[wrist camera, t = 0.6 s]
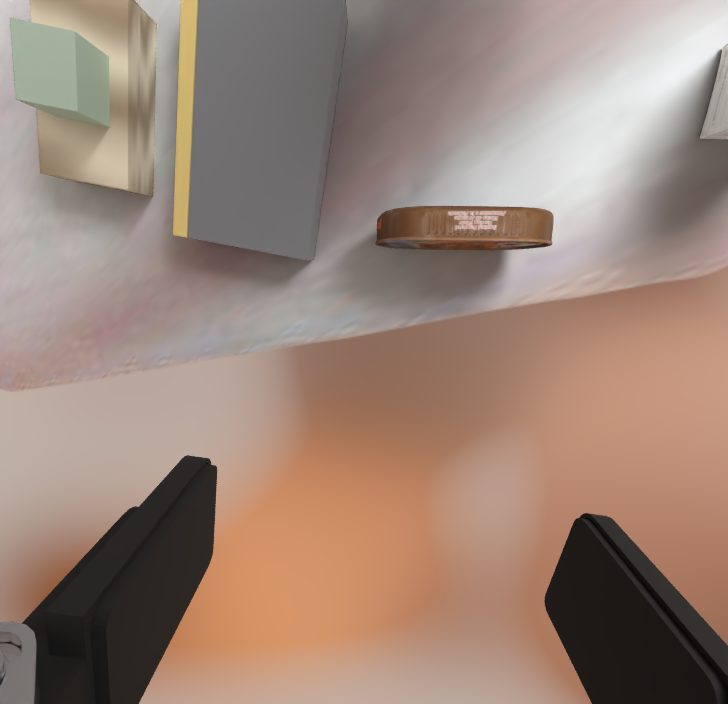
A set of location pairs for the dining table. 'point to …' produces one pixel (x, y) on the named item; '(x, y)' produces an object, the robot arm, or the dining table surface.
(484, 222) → the tin
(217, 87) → the dock
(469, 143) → the dining table surface
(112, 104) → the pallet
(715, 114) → the supplement box
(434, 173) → the dining table surface
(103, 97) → the box
